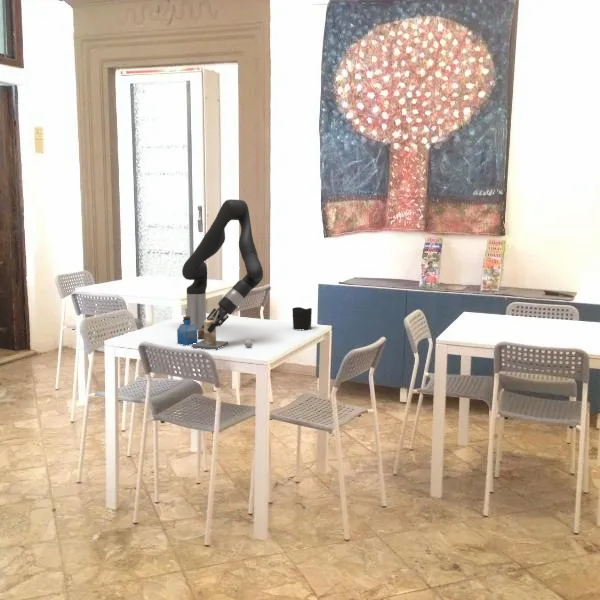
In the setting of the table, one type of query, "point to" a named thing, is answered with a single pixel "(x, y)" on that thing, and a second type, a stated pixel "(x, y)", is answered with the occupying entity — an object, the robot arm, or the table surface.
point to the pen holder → (302, 318)
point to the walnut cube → (201, 334)
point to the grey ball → (248, 343)
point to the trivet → (212, 346)
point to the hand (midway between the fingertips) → (206, 330)
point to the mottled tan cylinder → (209, 337)
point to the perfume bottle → (187, 332)
